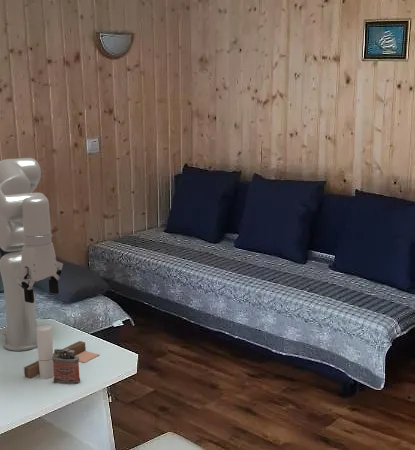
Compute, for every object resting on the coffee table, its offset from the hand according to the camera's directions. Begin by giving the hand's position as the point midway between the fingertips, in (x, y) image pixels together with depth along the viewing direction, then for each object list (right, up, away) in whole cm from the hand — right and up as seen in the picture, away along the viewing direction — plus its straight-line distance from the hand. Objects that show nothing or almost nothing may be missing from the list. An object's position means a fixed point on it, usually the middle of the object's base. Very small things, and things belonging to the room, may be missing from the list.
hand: (42, 297), depth 197 cm
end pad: (+9, -21, +18) cm, 29 cm away
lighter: (+7, -25, +1) cm, 26 cm away
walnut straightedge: (+1, -22, +14) cm, 26 cm away
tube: (0, -24, +5) cm, 25 cm away
